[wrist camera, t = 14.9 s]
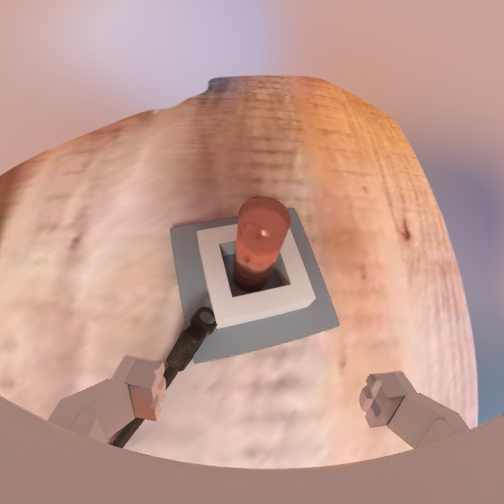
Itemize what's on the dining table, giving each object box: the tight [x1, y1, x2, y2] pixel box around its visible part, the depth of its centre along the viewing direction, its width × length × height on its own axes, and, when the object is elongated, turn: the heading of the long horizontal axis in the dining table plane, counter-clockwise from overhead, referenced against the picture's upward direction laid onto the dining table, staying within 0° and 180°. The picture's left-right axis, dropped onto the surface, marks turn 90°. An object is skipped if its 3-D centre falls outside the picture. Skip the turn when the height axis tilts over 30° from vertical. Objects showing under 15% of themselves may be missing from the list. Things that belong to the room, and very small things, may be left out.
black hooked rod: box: [112, 307, 218, 448], centre depth 21 cm, size 5×5×30 cm
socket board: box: [170, 208, 340, 364], centre depth 30 cm, size 16×16×4 cm
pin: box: [232, 197, 291, 292], centre depth 26 cm, size 4×4×11 cm
